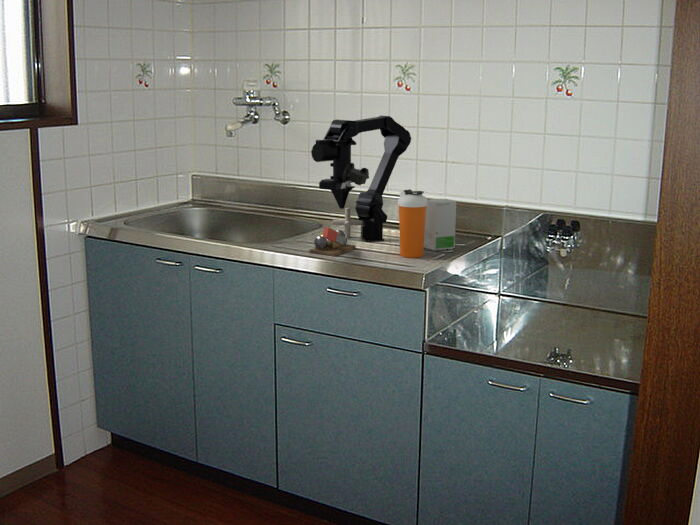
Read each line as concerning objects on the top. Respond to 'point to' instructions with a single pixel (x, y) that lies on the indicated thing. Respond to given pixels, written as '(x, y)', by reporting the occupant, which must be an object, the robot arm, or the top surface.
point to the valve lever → (334, 236)
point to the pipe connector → (347, 222)
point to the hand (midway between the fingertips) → (341, 208)
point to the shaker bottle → (412, 223)
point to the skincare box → (440, 224)
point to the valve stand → (330, 246)
